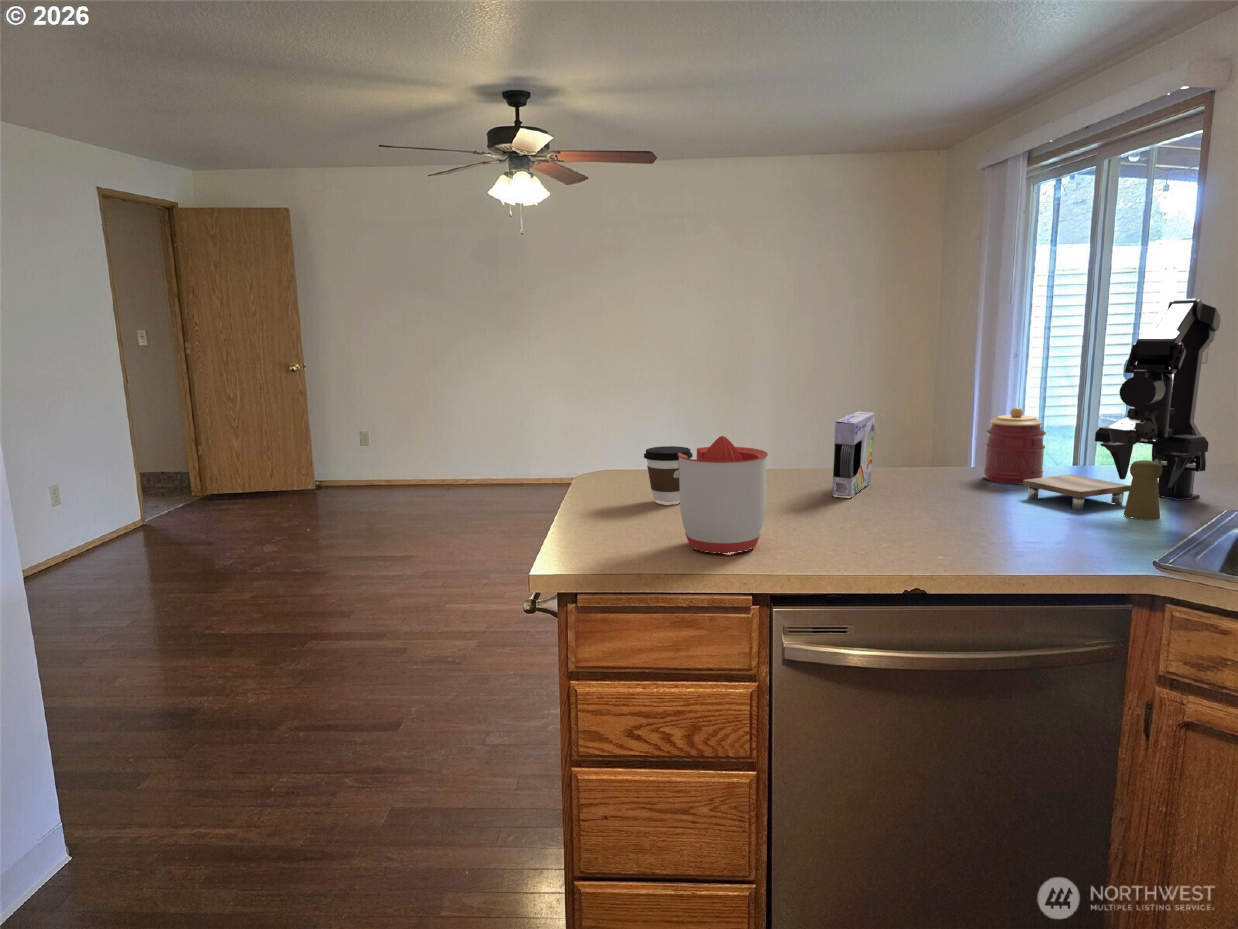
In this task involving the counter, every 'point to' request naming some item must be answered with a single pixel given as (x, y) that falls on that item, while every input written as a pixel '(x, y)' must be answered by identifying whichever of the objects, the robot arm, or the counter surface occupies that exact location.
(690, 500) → the citrus juicer
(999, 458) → the canister
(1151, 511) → the cork
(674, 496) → the coffee cup
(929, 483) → the counter surface
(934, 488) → the counter surface
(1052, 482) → the shelf board
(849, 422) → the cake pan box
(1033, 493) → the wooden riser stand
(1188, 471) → the robot arm
